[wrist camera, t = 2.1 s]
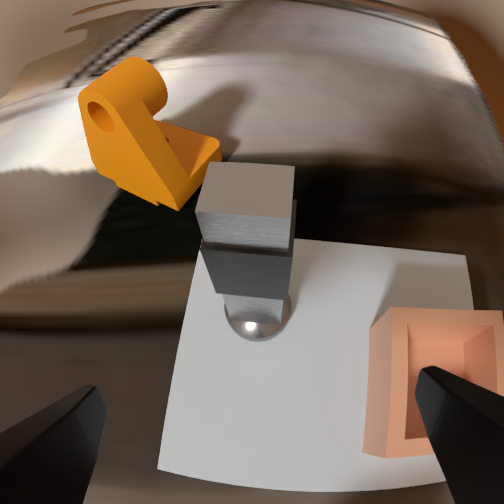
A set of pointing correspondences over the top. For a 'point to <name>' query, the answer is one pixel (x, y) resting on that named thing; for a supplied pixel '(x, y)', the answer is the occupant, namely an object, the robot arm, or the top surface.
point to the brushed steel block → (249, 243)
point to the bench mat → (300, 374)
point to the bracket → (142, 136)
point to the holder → (414, 359)
